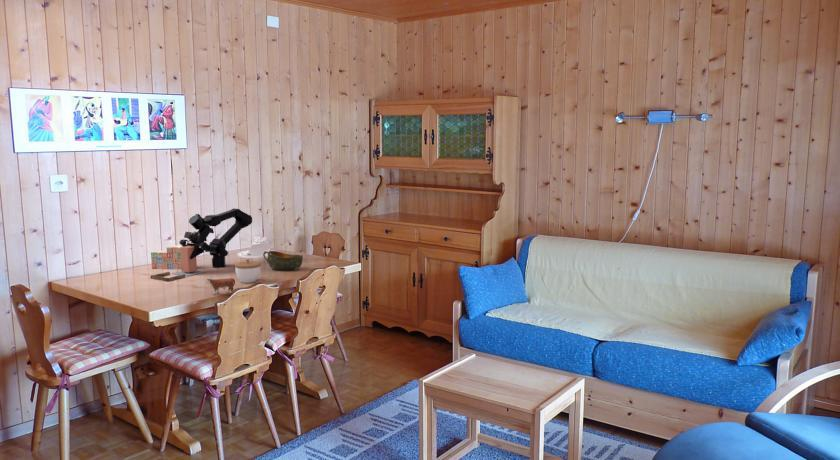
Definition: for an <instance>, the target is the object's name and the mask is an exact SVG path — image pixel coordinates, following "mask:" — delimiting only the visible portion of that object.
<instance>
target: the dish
mask: <svg viewBox="0 0 840 460" xmlns="http://www.w3.org/2000/svg"><path fill="white" fill-rule="evenodd" d="M253 240H254V241H253V242H252V243H251V244H250V249H248V250H242V251H239V252H237V257H238V258H243V259H265V258H264V256H263V254H264V252H266V251H267V252H269V251H277V252H280V251H278V250H277V249H271V242H270V241H266V240H267V236H260V235H258V236H255V237H253ZM265 257H266V258H267V259H268V253H266V254H265Z"/></svg>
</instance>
